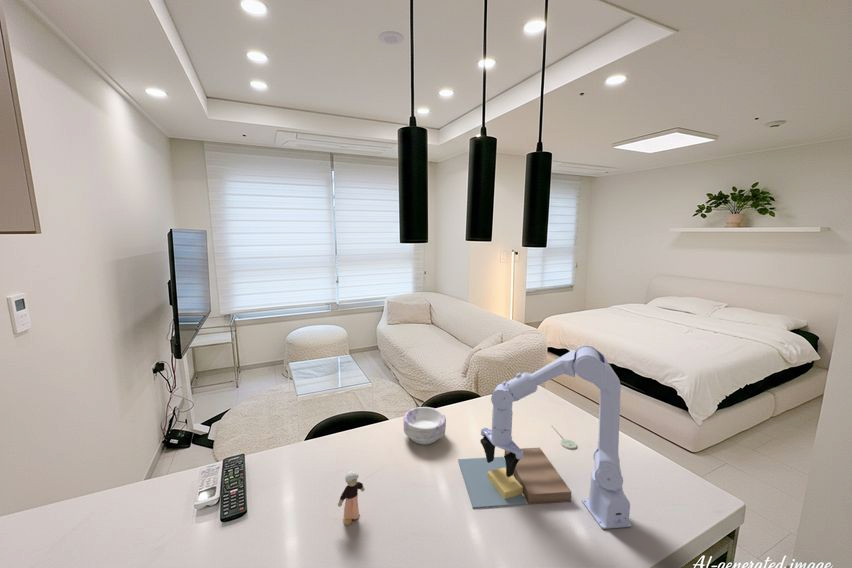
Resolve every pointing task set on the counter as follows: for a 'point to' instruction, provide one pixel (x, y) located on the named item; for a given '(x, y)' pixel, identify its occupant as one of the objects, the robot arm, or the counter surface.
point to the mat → (485, 483)
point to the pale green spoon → (567, 443)
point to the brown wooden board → (540, 478)
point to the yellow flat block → (505, 483)
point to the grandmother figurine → (351, 497)
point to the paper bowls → (424, 424)
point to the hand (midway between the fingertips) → (499, 468)
